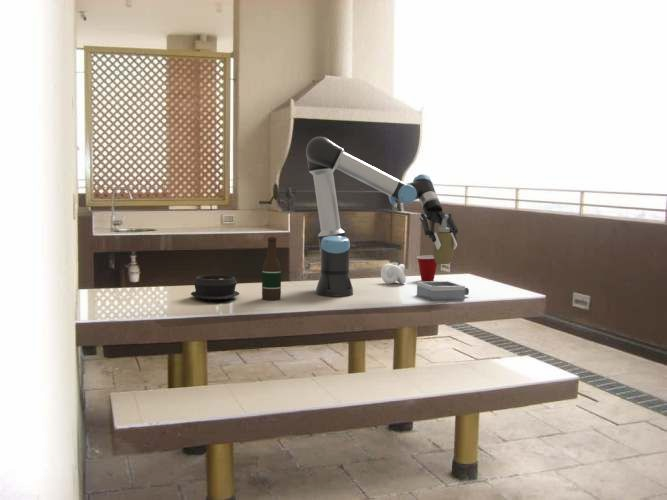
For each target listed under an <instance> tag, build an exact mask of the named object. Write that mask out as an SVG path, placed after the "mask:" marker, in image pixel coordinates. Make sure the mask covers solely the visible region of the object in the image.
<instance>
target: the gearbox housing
mask: <svg viewBox="0 0 667 500" xmlns="http://www.w3.org/2000/svg"><path fill="white" fill-rule="evenodd" d="M416 282H417V283H416V296H419V297H421V298H424V299H425V300H426V299H427V300H429V301H432V302H438V301H439V302H441V301H465V296H467V295H469V293H470V290H469V288H468V287H466V285H465V286H464V285H463V284H459V283H456V282H452V281H449V280H444V281H443V280H439V281H437V280H436V281H434V280H433V281H416Z"/></svg>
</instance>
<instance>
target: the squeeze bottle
mask: <svg viewBox="0 0 667 500" xmlns="http://www.w3.org/2000/svg"><path fill="white" fill-rule="evenodd" d="M446 222H447V220H446V219H442V224H441V225H440V227H438V228H437V232H436V233H437V236H438V238H439V241H440V244H441V246H440V248H439V250H437V248H436V245H435V243H434V242H433V243H434V245H433V250H432V255H433V256H434V259H435V263H437V265H438V264H439V265H449V264H451V262H452V260H453V256H454V249H453V244H452V234H450V233H448V232H450V228H447V224H446Z"/></svg>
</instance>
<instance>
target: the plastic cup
mask: <svg viewBox="0 0 667 500" xmlns="http://www.w3.org/2000/svg"><path fill="white" fill-rule="evenodd" d="M416 259H417V262H418V267H419V268H418V269H419V273H420V279H421V282H429V281H434V280H435V275H436V271H437V265H438V263H435V259H434V256H433V254H426V255H418V256H416Z"/></svg>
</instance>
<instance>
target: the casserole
mask: <svg viewBox="0 0 667 500" xmlns="http://www.w3.org/2000/svg"><path fill="white" fill-rule="evenodd" d="M192 284H193V285H194V289H195V291H192V292H191V293H190V295H191V296H192V297H195V298H198V299H201V300H204V301H210V302H211V301H218V302H219V301H226V300H231V299H233V298H235V297H238V296H239V295H240V292H239V291H237V290H236V286H237V284H238V281H237V280H236V277H235V276H232V275H227V274H204V275H203V274H202V275H197V276H195V278H194V280H193V282H192Z"/></svg>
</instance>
